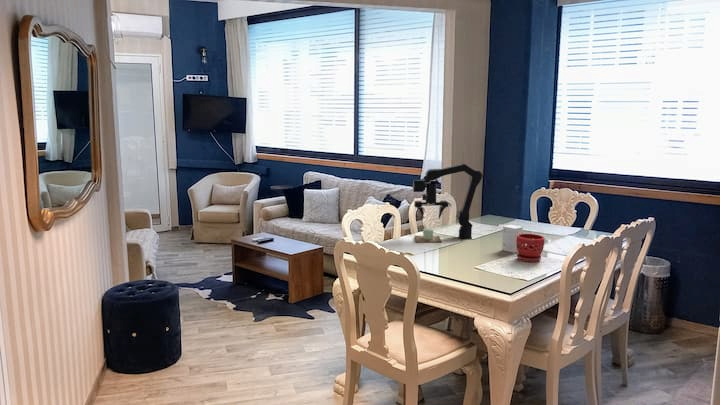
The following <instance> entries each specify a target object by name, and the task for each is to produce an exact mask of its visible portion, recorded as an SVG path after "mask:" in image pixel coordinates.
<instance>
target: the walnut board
mask: <svg viewBox="0 0 720 405" xmlns="http://www.w3.org/2000/svg"><path fill="white" fill-rule="evenodd" d="M414 240H415V243H416V244H417V243H418V244H419V243H420V244H422V243H423V244H425V243H426V244H429V243H430V244H431V243H432V244H437V243H438V244H439V243H440V244H441V243H442V239H441V237H440V235H433V239H424V238H423V235H415V236H414Z"/></svg>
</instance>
